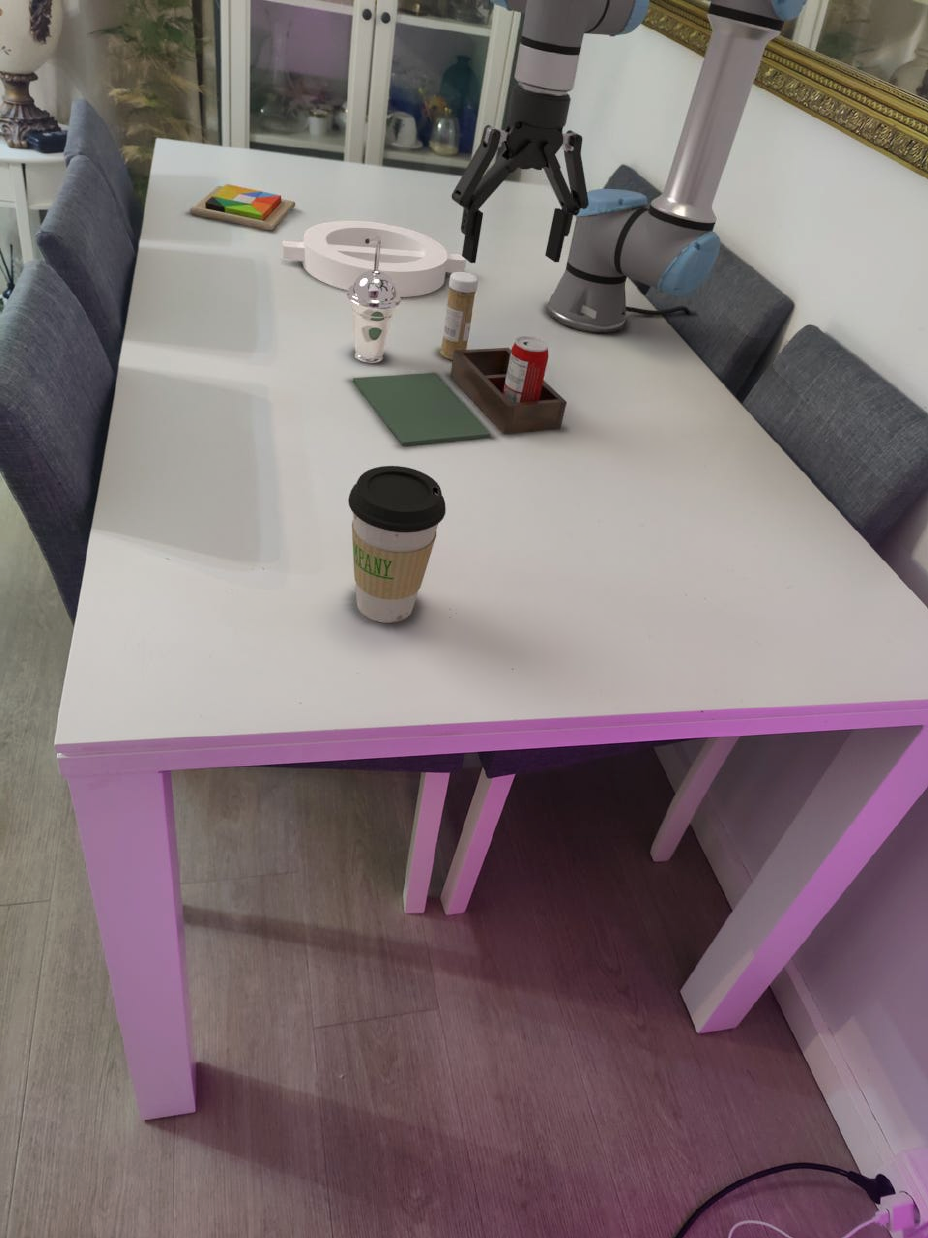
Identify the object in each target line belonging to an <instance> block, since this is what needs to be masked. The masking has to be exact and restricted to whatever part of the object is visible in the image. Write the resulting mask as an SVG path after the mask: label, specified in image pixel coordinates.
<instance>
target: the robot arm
mask: <svg viewBox="0 0 928 1238" xmlns="http://www.w3.org/2000/svg"><path fill="white" fill-rule="evenodd" d="M489 1H490V2H491V3H492V4H494V5H496V6H499V7H502V8H505V9H506V10H507V11H509V12H512V11H514V12H517V13H521V14H524V17H523V19H524V20H523V26H522V33H521V35H520V42H519V46H518V53H517V58H516V59H517V60H516V65H515V71H514V79H515V80H516V82H517V83H515V84H514V86H512V88H511V95H510V100H509V105H508V106H509V107H508V110H507V111H508V113H507V114H508V115H507V116H508V117H507V118H508V120H507V122H508V123H507V125H506V127H505V129H504V130H503V129H500V128H499V129H498V128H496V127H494V126H492V125H490V124H486V125H485V127H484V128H483V131H482V136H481V139H480V143H479V145H478V146H477V149H476V150H475V153H474V154H473V156H472V158H471V160H470V162H469V163H468V165H467V167H466V168H465V170H464V172H463V173H462V176H461V177H460V179H459V181H458V183H457V184H456V186H455V188H454V189H453V192H452V193H451V200H452V201H454V202H455V203H456V204H458V205H459V206H460V207H462V208H463V210H462V218H461V223H460V232H461V233H462V234H463V235H464V238H463V245H462V253H461V255H462V256H463V257H464V258H465V260H466V262H468V263H470V264H476V261H477V256H478V250H479V244H480V237H481V231H482V224H483V218H484V212H483V211H481V210H480V209H481V207H482V206H483V205H484V204H485V203H486V202H487V200H488V199H489V198H490V197H491V196H492V195H493V194H494V192H495V191H496V190H497V189H498V188H499V187H500V186H501V184H502V183H503V182H504V181H505V180H506V179H507V178H508V176H509V175H510V174H512V173H515V172H516V171H517V170H518V168H519V169H521V170H531V169H533V170H535V171H542V170H543V171H544V173H545V175H546V177H547V180H548V181H549V184H550V186H551V188H552V190H553V193H554V194H555V195H554V196H555V197H556V199H557V202H558V204H559V205H560V207H561V208H559V207H555V208H554V210H553V216H552V220H551V225H550V229H549V235H548V241H547V245H546V249H545V254H544V256H545V257H546V258H548V260H551V261H552V262H553V263H560V260H561V255H562V251H563V246H564V243H565V242H564V241H565V237H568V236H569V234H570V232H571V228H572V223H573V219H574V216H575V217H576V218H575V223H574V228H573V233H572V237H571V241H570V245H569V246H570V247H569V251H568V256H567V260H566V265H565V270H564V272H563V274H562V276H561V278H560V280H559V281H558V283H557V285H556V287H555V289H554V291H553V293H552V294H551V295H550V297H549V300H548V303H547V310H546V311H547V313H548V315H549V316H550V317H551V318H552V319H554V320H555V321H556V322H558V323H560V324H562V325H564V326H567V327H569V328H572V329H576V330H579V331H584V332H588V333H598V334H609V333H615V332H618V331H620V330H622V329H623V328H624V326H625V323H626V319H627V312H628V313H636V314H640V315H641V314H642V315H648V316H663V315H667V314H672V313H673V314H674V313H676V312H679V311H683V312H684V313H685V314H686V315H688V316H689V315H692V312H691V310H690V309H689V308H688V307H687V306H684V305H679V306H675V307H671V308H665V309H661V310H653V309H643V308H638V307H633V306H627V300H626V299H627V297H626V282H627V278H629V279H632V280H634V281H637V282H639V283H642V284H644V285H645V286H648V287H651V288H653V289H655V290H657V292H659V293H666V294H669V295H672V296H675V297H678V298H679V297H680V298H681V297H686V296H688V295H690V294H692V293H693V292H695V290H696V289H698V288H699V287H700V285H702V284H703V282H704V281H705V280H706V278H707V277H708V276H709V274H710V272H711V271H712V269H713V267H714V266H715V263H716V261H717V259H718V257H719V254H720V250H721V237H720V236H719V234H717V232H715V231H714V228H715V226H716V222H717V220H718V218H717V216H716V214H715V212H714V209H713V204H714V200H715V198H716V194H717V192H718V189H719V185H720V182H721V180H722V177H723V174H724V172H725V168H726V165H727V162H728V159H729V156H730V154H731V150H732V148H733V144H734V141H735V138H736V135H737V133H738V129H739V127H740V123H741V120H742V118H743V115H744V112H745V108H746V106H747V102H748V100H749V96H750V93H751V91H752V88H753V85H754V82H755V78H756V75H757V73H758V71H759V70H758V69H759V67H760V63H761V61H762V58H763V55H764V52H765V49H766V46H767V44H768V43H769V42H770V41H772V40H773V39H775V38H777V37H778V36H779V35H781V34H782V33H781V32H782V30H783V27H784V24H785V22H788V21H792V20H794V19H796V18H797V17H798V16H799V15H800V14H801V13H802V12H803V7H804V6H805V5H806V4H807V1H808V0H707V2H710V4H709V7H708V10H707V14H706V17H707V19H708V22H709V25H710V27H711V35H710V38H709V41H708V43H707V48H706V50H705V53H704V57H703V60H702V63H701V67H700V71H699V73H698V77H697V81H696V84H695V87H694V90H693V93H692V97H691V100H690V102H689V103H690V104H689V107H688V110H687V112H686V117H685V120H684V123H683V126H682V129H681V133H680V136H679V139H678V143H677V146H676V149H675V153H674V156H673V159H672V161H671V166H670V169H669V173H668V175H667V179H666V181H665V185H664V189H663V192H662V193H661V194H660V195H659V196H657V197H656V198H653V200H651V201H650V204H649V203H648V197H647V195H644V194H643V193H642V192H638V191H633V190H628V189H619V188H597V189H596V188H595V189H592V190H587V184H586V178H585V171H584V166H583V160H582V159H583V158H582V145H583V136H582V135H581V134H579V133H577V132H575V131H574V130H571V129H569V130H567V131H566V132H565V133H563V130H564V127H565V126H566V124H567V120H568V115H569V111H570V110H569V109H570V106H571V100H572V98H571V96H570V94H569V92H571V91H572V90H574V87H575V82H576V76H577V71H578V67H579V61H580V56H581V50H582V44H583V40H584V35H585V34H587V35H588V34H589V35H605V36H609V37H616V36H621V35H627V34H630V33H632V32H634V31H635V30H637V28H638V27H639V26H640V25H641V24H642V23H643V21H644V19H645V18H646V15H647V13H648V11H649V6H650V0H489ZM503 144H504V149H502V151H501V152H500V153H499V154H498V155H497V156H496V154H497V151H498V149H499V148H501V147H502V146H503ZM560 149H562V150H563V156H564V157H563V158H564V161H565V168H566V173H567V179H568V184H569V186H568V184H567V181H566V179H565V177H564V174H563V173H562V170H561V168H562V167H561V164H560V163H559V160H558V158H557V156H556V154H557V153H558V151H559V150H560ZM495 156H496V161H495V162H494V163H493V165H491V163H492V161H493V159H494V158H495ZM490 165H491V166H490ZM489 166H490V168H489ZM488 168H489V169H488ZM648 204H649V208H647V206H648Z"/></svg>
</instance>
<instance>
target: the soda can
mask: <svg viewBox="0 0 928 1238" xmlns="http://www.w3.org/2000/svg"><path fill="white" fill-rule="evenodd" d="M510 349H511V354H510V360H509V365H508V370H507V375H506V380H505V386H504V391H503V395H504V396H505V397H506V398H507V399H508V400H509V401H510V402H511V403H519V402H532V401H539V397H540V393H541V388H542V384H543V380H544V379H545V374H546V371H547V367H548V361H549V344H548V342H546V341H545V340H544V339H542V338H540V337H539V338H538V337H536V336H532V335H521V336H518V337H516V338H515V341H514V343H513V345H512V347H511V348H510Z"/></svg>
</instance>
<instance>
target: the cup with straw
mask: <svg viewBox="0 0 928 1238" xmlns="http://www.w3.org/2000/svg"><path fill="white" fill-rule="evenodd" d="M373 242H376V251H375V263H374V270H369V271H366V272H364V273H362V274H360V275H359V276H358V277H357V279H356V280H355V282H354V284H353V285H352V286H350V287H349V289H348V291H347V292H346V297H347V299H348V300H349V301H351V308H352V316H353V341H354V351H355V353H354V357H355V358H356V359H357V360H358V361H360V362H363V363H369V364H376V363H379V362H381V361H383V359H384V357H383V355H384V353H385V350H386V345H387V341H388V337H389V331H390V327H391V322H392V319H393V317H394V314H395V311H396V308H397V307H399V306H400V305H401V303H402V297H401V296H400V294H399V292H397V290H396V286H395V284H394V282H393V280H392V279H391V277H389V276H388V275H387V274H386V273H384V272H382V271H379V270H378V269H379V258H380V247H381V239H380V237H379V236H375V237H372V238H368V239H366V240H365V243H366V244H369V243H373Z"/></svg>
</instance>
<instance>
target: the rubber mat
mask: <svg viewBox="0 0 928 1238" xmlns="http://www.w3.org/2000/svg"><path fill="white" fill-rule="evenodd" d="M352 382H353V384H354V385H355V386H356V387H357V389H358V390H359V391H360V393H361V394H362V395H363V396H364V398H365V399H366V400H367V401H368V403H369V404H370V406H371V407H372V408H373V409H374V411H375V412H376V413H377V414H378V416H379V417H380V418H381V420H382V421H383V422H384V424H385V425H386V426H387V428H388V429H389V431H390V432H391V433H392V434H393V436H394V437H395V438H396V439H397V441H398V442H399V443H400V444H401V446H402V447H406V446H416V445H417V446H418V445H426V444H437V443H447V442H454V441H455V442H457V441H466V440H476V439H486V438H491V436H492V435H491V432H490V431H489V429H487V428H486V427H485V426H484V425H483V424H482V423H481V422H480V420H479V419H478V418H477V416H475V415H474V414H473V413H472V411H471V410H470V409H469V408H468V407H467V406H466V405H465V404H464V403H463V402H462V401H461V399H460V398H459V397H458V396H457V395H456V394H455V393H454V392H453V391H452V390H451V389H450V388H449V387H448V385H447V384H446V383H445V382H444V381H443V380H442V379H441V378H440V376H439V375H438V374H437V373H436V372H428V373H427V372H426V373H413V374H397V375H396V374H395V375H380V376H366V377H364V376H363V377H353V379H352Z"/></svg>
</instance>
